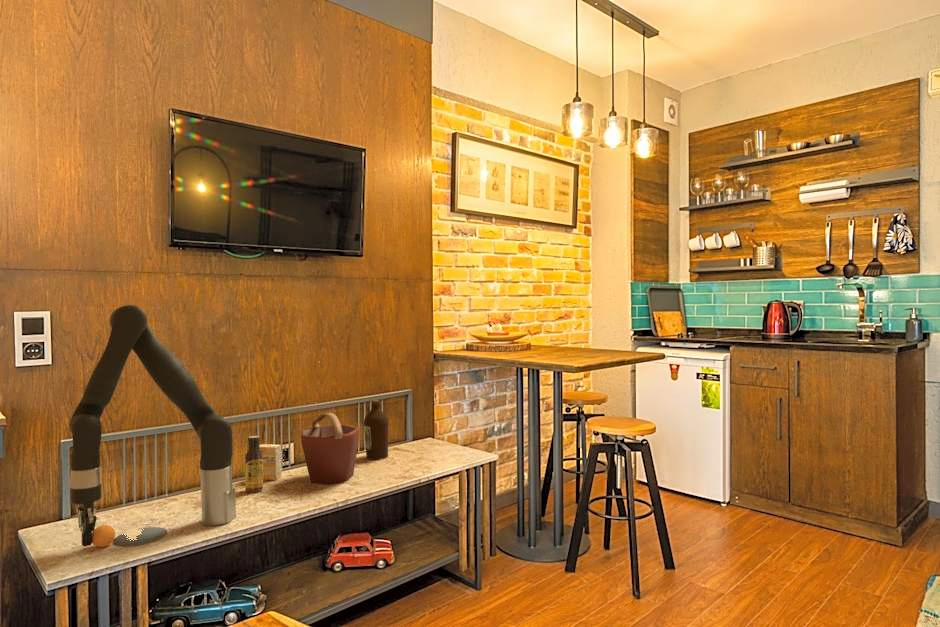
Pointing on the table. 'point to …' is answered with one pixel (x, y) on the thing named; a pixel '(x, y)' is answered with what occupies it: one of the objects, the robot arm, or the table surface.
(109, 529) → the ball
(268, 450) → the supplement box
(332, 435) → the bucket
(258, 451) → the sauce bottle
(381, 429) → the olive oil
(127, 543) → the dark grey flat disc
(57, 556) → the table surface
